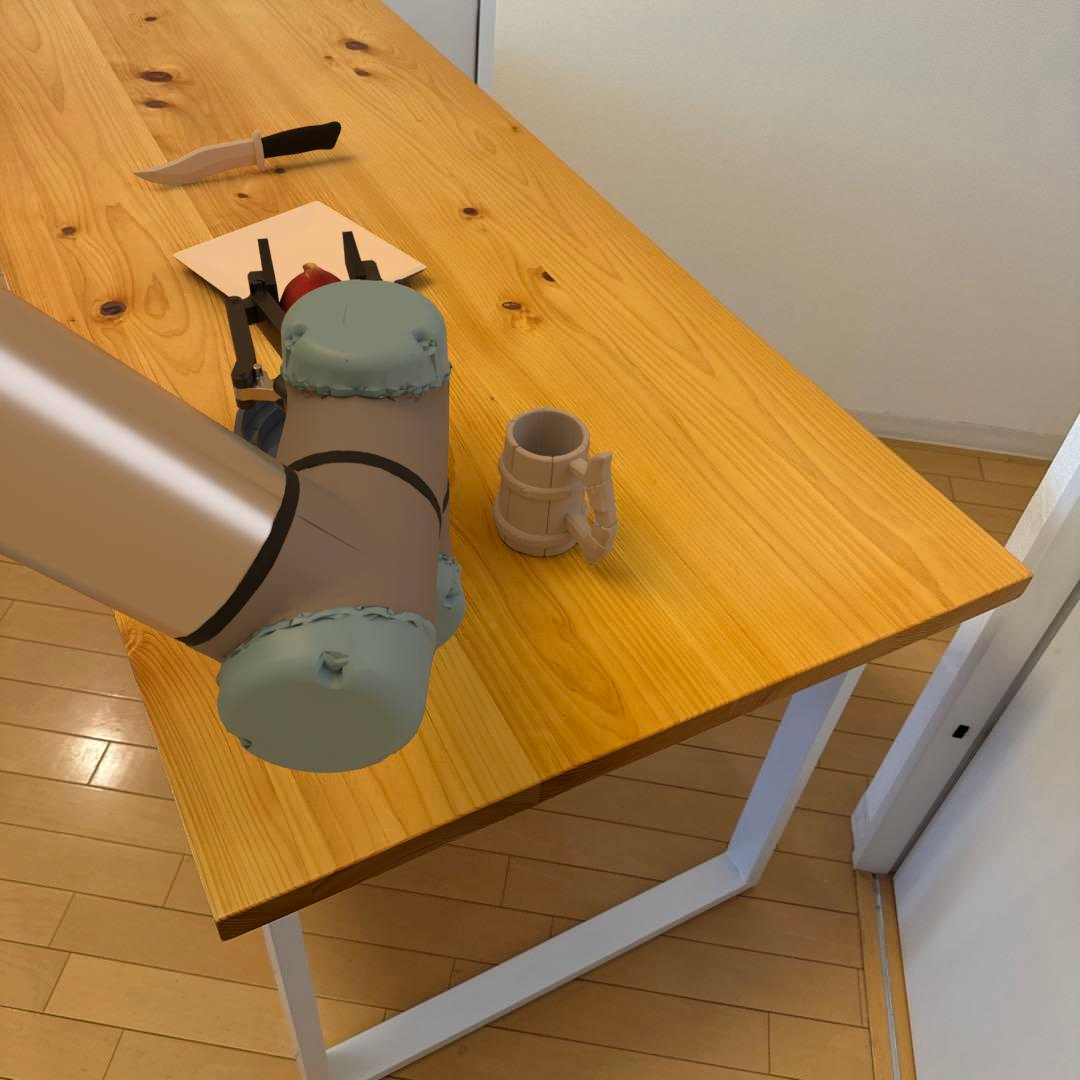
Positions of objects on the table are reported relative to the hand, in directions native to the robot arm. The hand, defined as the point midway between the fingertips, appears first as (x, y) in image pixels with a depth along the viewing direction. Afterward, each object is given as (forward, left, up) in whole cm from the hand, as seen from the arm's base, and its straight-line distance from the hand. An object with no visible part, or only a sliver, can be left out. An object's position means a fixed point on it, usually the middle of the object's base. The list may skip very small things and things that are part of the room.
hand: (307, 251), depth 77 cm
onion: (+1, -5, -6) cm, 8 cm away
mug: (+19, -15, -17) cm, 30 cm away
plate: (-3, +25, -17) cm, 30 cm away
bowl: (+1, -4, -17) cm, 18 cm away
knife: (-11, +48, -17) cm, 52 cm away
